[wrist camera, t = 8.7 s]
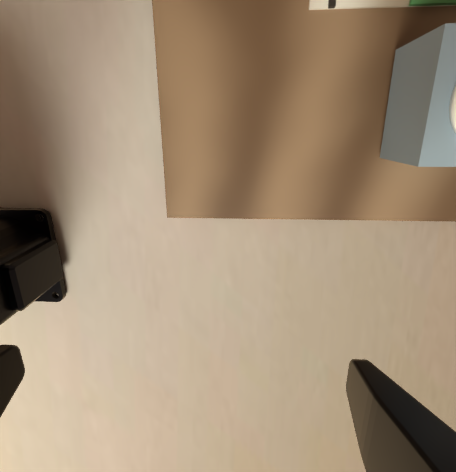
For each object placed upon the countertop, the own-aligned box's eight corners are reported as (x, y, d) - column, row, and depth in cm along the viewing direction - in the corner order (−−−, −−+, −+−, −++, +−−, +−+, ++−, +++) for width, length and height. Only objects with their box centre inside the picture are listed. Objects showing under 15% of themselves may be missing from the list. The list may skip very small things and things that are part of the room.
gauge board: (171, 213, 20) (139, 247, 14) (152, -70, 15) (94, -189, 9) (544, 217, 18) (676, 258, 13) (648, -92, 14) (929, -246, 8)
